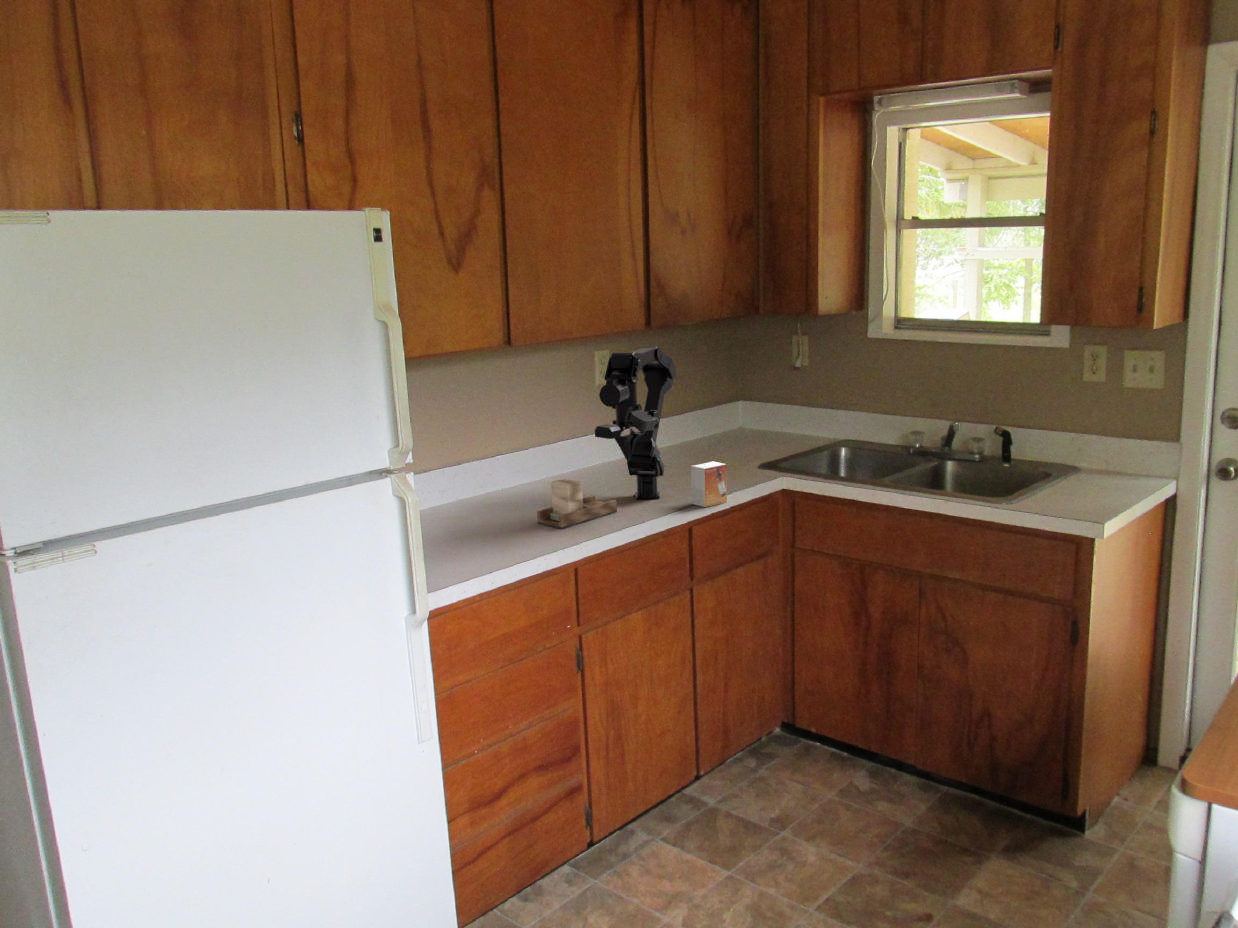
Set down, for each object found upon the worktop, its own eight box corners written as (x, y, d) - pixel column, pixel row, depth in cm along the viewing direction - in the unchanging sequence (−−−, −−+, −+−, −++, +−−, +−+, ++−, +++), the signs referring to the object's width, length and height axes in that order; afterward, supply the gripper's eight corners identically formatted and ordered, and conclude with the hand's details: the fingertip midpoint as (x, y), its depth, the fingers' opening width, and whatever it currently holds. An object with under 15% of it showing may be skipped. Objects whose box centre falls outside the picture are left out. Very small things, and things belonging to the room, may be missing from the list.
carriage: (567, 508, 267) (565, 478, 265) (583, 511, 263) (581, 481, 261) (552, 512, 263) (551, 481, 262) (569, 516, 259) (567, 485, 258)
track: (592, 507, 276) (592, 495, 275) (616, 512, 270) (616, 500, 269) (537, 523, 262) (537, 511, 262) (562, 529, 256) (561, 516, 255)
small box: (704, 508, 270) (703, 468, 268) (691, 504, 275) (690, 465, 272) (727, 502, 275) (727, 463, 273) (713, 498, 279) (713, 460, 277)
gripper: (623, 408, 255) (626, 470, 259) (673, 398, 268) (675, 456, 272) (592, 404, 263) (594, 464, 266) (641, 394, 276) (644, 452, 279)
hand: (628, 459), depth 271 cm, fingers closed
